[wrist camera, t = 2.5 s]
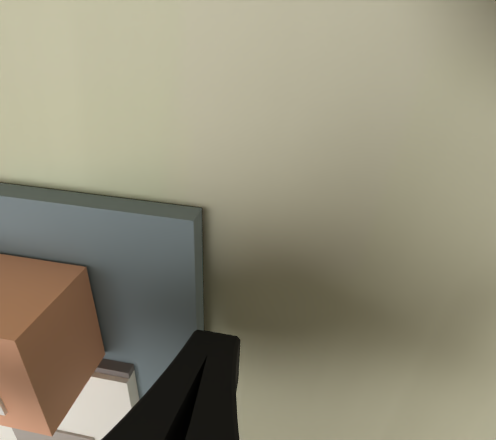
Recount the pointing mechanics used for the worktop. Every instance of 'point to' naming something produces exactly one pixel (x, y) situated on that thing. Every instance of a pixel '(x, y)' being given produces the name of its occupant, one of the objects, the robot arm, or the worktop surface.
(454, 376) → the worktop surface
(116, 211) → the mat
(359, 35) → the worktop surface
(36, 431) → the stub
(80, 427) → the ticket
